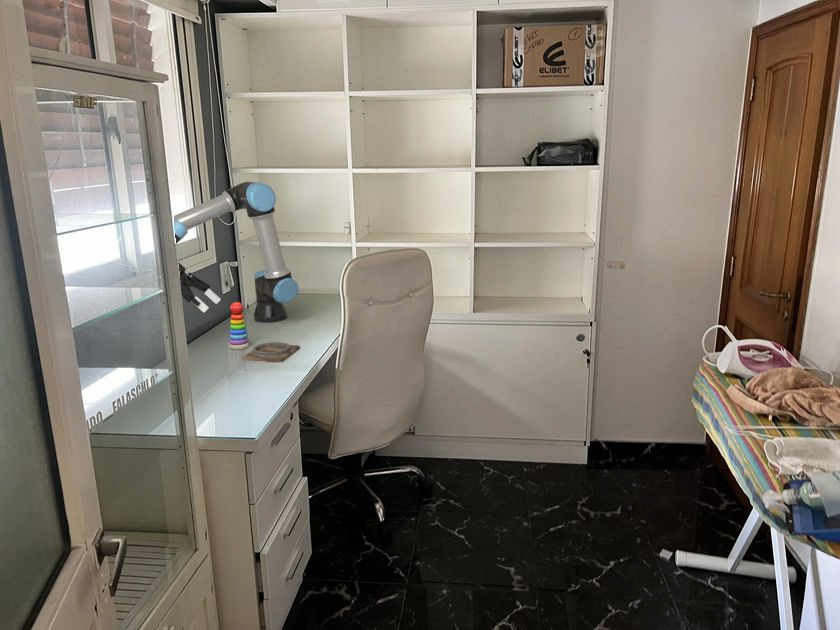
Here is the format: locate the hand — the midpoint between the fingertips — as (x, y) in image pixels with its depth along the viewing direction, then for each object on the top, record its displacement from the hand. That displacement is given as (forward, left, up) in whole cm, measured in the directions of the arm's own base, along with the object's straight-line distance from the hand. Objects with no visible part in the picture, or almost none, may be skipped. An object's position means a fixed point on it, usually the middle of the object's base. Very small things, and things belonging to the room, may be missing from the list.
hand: (212, 306), depth 255 cm
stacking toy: (-2, +9, -18) cm, 20 cm away
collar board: (+4, +26, -17) cm, 31 cm away
